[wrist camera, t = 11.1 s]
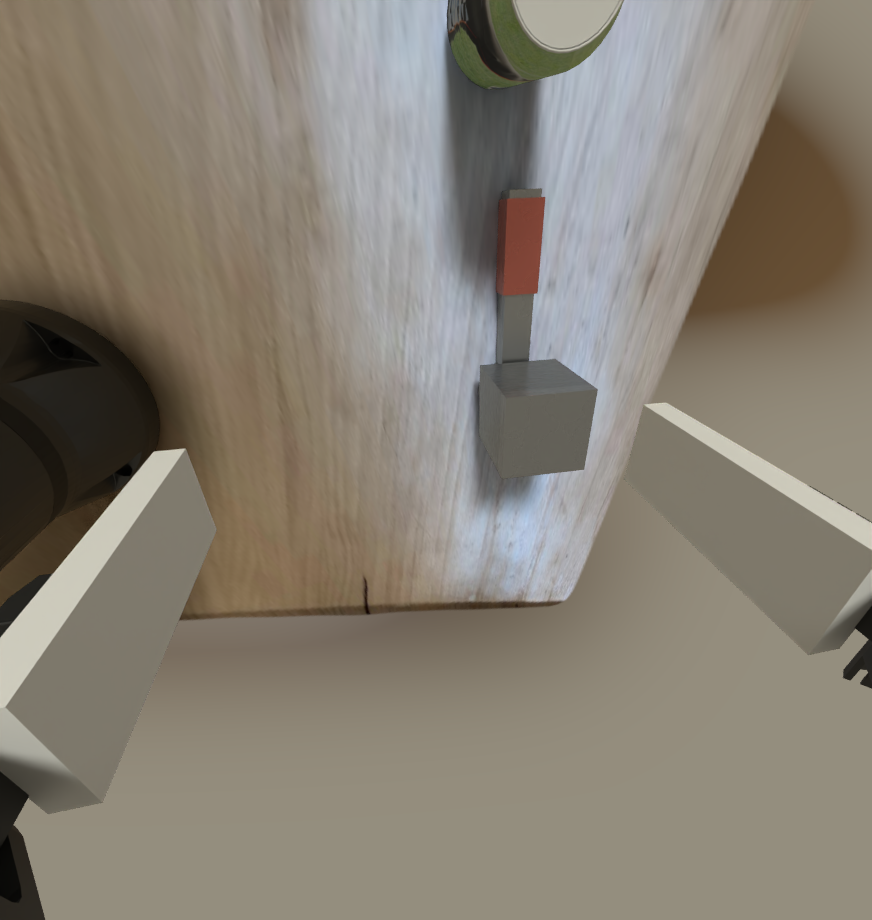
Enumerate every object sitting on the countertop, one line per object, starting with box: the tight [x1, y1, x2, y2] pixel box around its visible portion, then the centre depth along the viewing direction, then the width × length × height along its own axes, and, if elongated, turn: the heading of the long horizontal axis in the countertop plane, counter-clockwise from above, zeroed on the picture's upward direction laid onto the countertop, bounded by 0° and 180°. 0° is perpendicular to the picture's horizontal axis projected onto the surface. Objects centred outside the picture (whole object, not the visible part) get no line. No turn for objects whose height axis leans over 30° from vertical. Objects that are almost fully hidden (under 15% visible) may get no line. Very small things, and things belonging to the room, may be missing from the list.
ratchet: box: [478, 189, 545, 399], centre depth 30 cm, size 5×17×6 cm, turn 2°
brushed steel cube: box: [479, 359, 598, 479], centre depth 31 cm, size 6×6×7 cm
